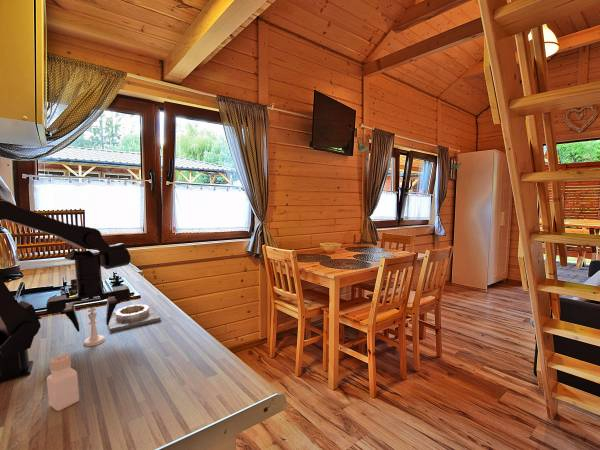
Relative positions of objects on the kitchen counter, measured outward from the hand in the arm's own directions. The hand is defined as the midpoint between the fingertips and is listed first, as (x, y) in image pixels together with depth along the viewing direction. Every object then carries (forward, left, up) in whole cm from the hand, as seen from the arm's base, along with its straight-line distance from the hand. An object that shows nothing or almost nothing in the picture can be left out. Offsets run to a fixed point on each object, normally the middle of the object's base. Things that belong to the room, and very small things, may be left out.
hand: (93, 328), depth 86 cm
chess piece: (0, 0, -4) cm, 4 cm away
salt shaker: (-27, +6, -4) cm, 28 cm away
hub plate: (+11, -11, -4) cm, 16 cm away
